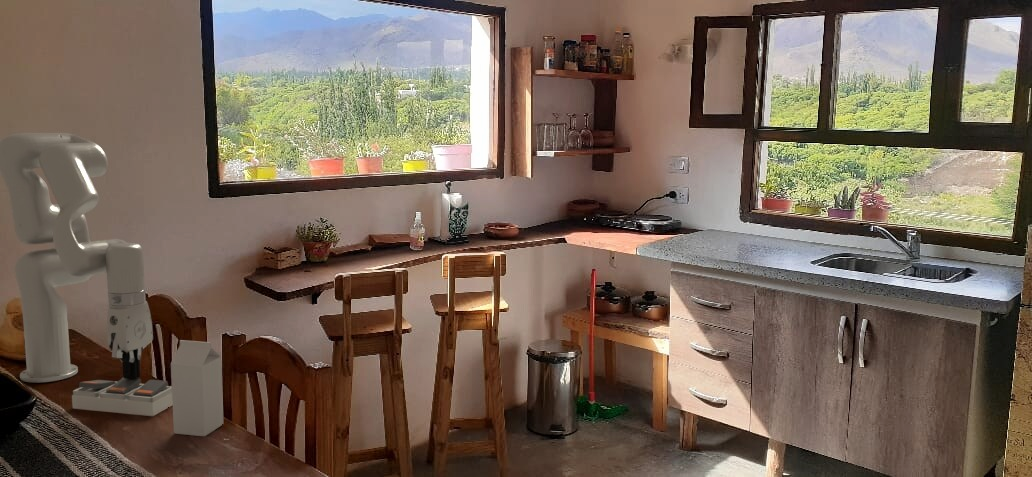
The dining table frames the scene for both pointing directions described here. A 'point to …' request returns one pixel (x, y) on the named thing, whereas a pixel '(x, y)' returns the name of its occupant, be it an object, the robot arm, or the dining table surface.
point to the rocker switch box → (121, 401)
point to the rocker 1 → (96, 384)
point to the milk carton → (196, 389)
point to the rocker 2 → (124, 386)
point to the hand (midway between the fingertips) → (131, 377)
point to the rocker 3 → (151, 388)
